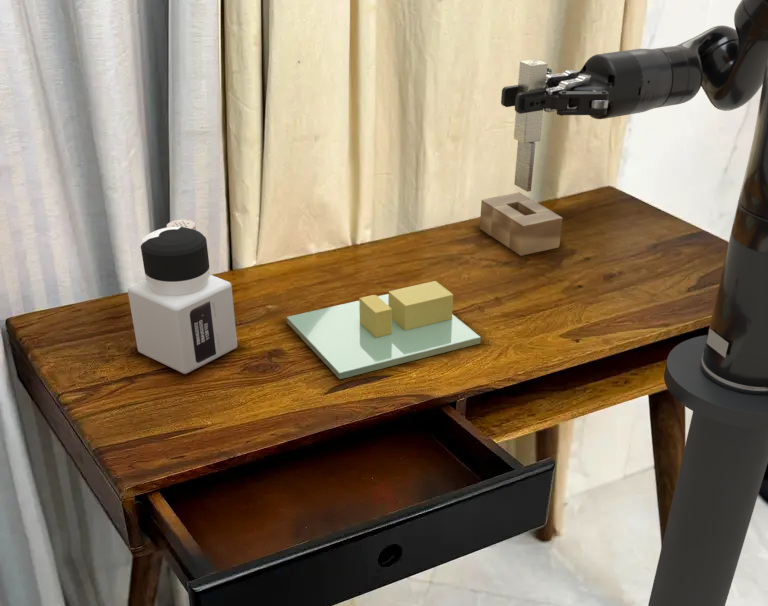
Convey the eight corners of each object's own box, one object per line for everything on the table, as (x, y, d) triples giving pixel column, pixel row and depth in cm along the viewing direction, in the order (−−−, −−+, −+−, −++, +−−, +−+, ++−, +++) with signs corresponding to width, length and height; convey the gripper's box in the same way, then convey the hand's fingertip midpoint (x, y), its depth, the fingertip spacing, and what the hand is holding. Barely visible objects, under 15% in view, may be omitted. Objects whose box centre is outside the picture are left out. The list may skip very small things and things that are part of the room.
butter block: (388, 315, 111) (388, 291, 109) (434, 304, 113) (435, 280, 111) (404, 330, 108) (405, 305, 106) (452, 319, 110) (453, 294, 108)
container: (239, 348, 106) (227, 232, 98) (185, 376, 102) (168, 257, 94) (191, 326, 110) (176, 213, 102) (136, 352, 105) (116, 236, 97)
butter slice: (359, 322, 109) (359, 297, 108) (375, 318, 110) (375, 294, 108) (375, 337, 107) (375, 312, 105) (392, 333, 107) (392, 308, 105)
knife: (508, 185, 126) (518, 60, 117) (523, 182, 127) (535, 58, 118) (521, 193, 124) (532, 66, 115) (537, 189, 125) (549, 63, 116)
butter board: (286, 323, 111) (286, 316, 110) (418, 292, 117) (419, 286, 117) (339, 379, 101) (339, 373, 101) (480, 343, 107) (481, 336, 107)
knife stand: (479, 228, 132) (481, 199, 130) (516, 220, 135) (519, 192, 132) (520, 256, 125) (523, 225, 123) (559, 247, 128) (563, 217, 125)
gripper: (595, 39, 127) (481, 54, 120) (667, 63, 117) (546, 81, 111) (588, 100, 131) (477, 117, 125) (656, 128, 121) (539, 149, 115)
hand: (510, 100), depth 118 cm, fingers closed on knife, 2 cm apart
